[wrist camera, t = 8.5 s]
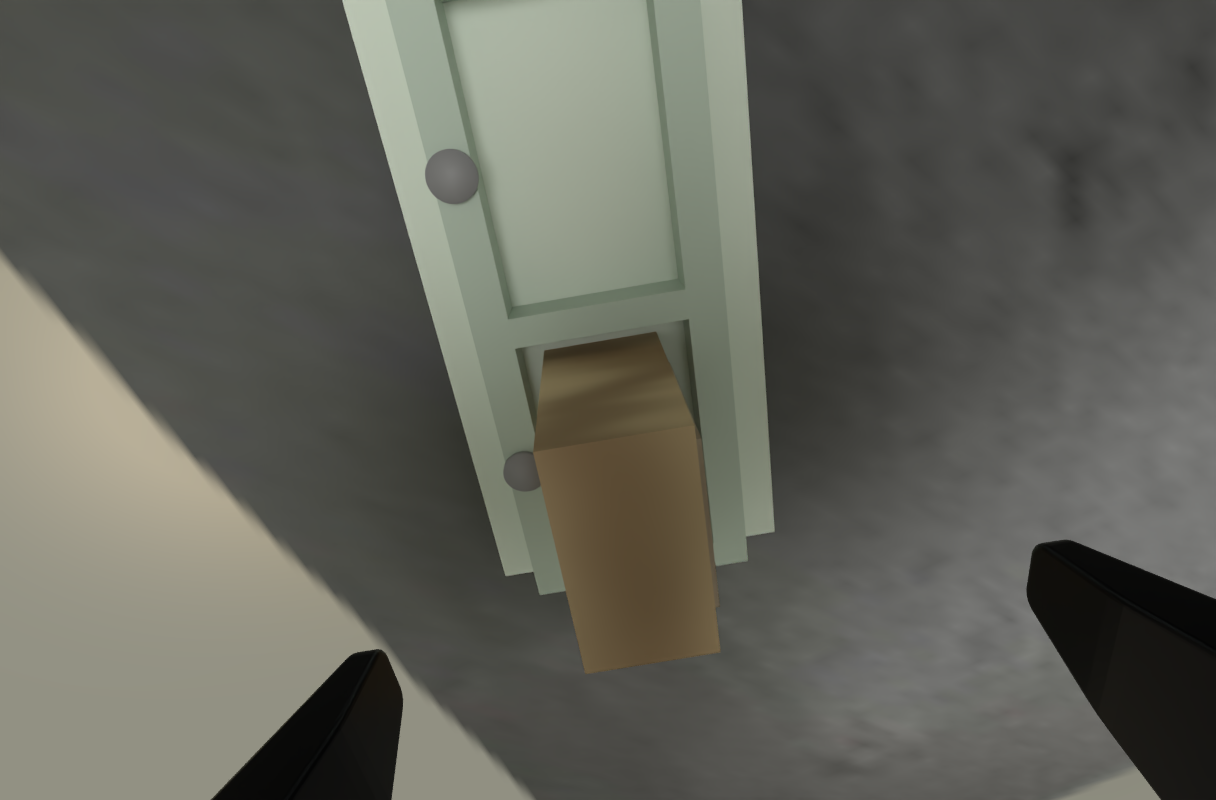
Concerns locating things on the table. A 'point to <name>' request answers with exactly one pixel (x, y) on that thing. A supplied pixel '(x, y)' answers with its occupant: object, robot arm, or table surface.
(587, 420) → the tan rectangular box
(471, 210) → the rail board
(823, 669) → the table surface
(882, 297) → the table surface
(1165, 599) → the robot arm
